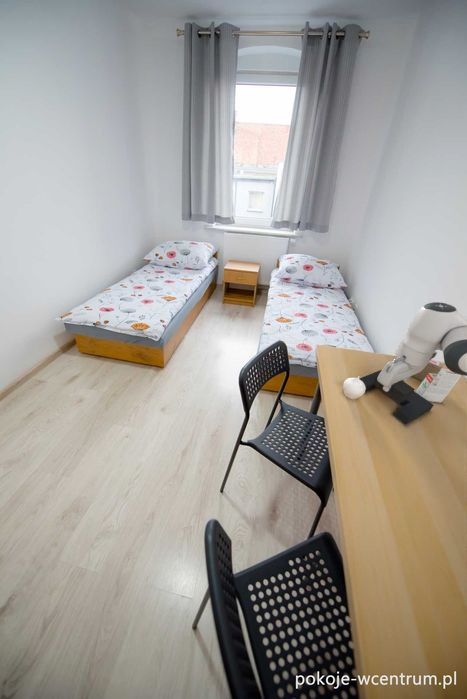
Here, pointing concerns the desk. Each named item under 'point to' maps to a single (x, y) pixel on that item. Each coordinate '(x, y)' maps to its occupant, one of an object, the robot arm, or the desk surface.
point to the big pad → (403, 402)
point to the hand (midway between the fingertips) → (392, 386)
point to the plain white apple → (354, 388)
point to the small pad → (396, 390)
